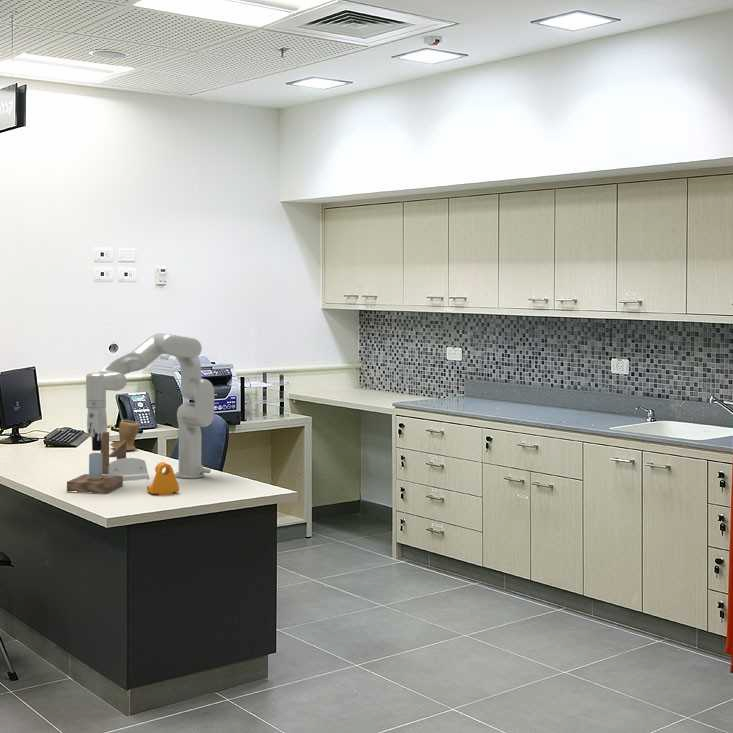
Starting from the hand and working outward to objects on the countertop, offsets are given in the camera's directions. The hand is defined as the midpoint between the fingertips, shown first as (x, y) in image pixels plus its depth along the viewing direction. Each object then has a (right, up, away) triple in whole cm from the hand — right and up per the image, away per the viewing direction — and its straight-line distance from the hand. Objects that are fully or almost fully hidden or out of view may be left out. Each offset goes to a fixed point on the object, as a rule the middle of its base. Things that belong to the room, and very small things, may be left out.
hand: (96, 450), depth 402 cm
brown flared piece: (-13, -9, +103) cm, 104 cm away
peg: (-1, -15, +1) cm, 15 cm away
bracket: (+27, -17, -4) cm, 32 cm away
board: (-1, -15, +1) cm, 15 cm away
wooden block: (-3, -13, +37) cm, 39 cm away
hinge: (+7, -14, +24) cm, 28 cm away
